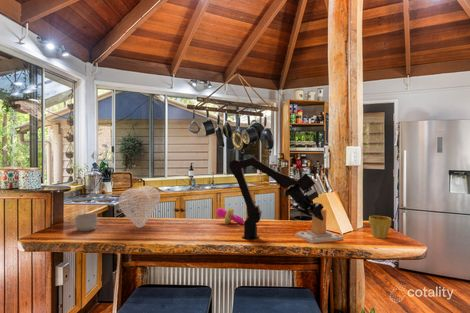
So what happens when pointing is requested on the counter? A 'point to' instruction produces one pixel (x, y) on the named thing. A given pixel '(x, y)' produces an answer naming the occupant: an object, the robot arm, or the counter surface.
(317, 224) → the column brick
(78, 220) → the teacup
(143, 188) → the heart
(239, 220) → the toy
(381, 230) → the plant pot
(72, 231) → the counter surface
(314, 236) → the baseplate
